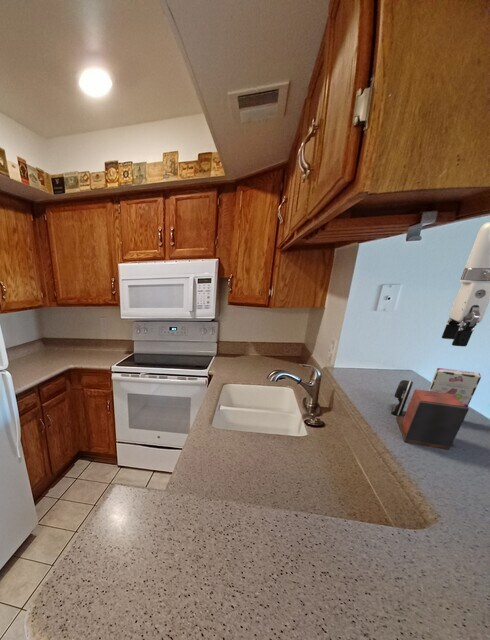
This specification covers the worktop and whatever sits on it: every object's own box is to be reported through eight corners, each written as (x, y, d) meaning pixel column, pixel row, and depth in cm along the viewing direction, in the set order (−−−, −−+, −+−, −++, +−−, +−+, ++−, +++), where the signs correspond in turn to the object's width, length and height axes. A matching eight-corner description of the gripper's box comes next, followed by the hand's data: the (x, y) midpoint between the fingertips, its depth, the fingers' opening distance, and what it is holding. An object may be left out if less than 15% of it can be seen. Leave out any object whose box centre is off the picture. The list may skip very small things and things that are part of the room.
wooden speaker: (434, 424, 108) (450, 387, 102) (449, 450, 94) (469, 408, 88) (396, 418, 112) (409, 382, 106) (404, 442, 98) (420, 402, 92)
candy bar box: (458, 418, 112) (480, 372, 104) (460, 424, 108) (482, 376, 101) (419, 411, 118) (437, 366, 110) (419, 416, 114) (437, 370, 106)
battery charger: (390, 407, 120) (400, 377, 115) (402, 410, 118) (413, 380, 113) (387, 414, 116) (398, 383, 110) (400, 416, 114) (412, 385, 108)
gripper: (513, 278, 78) (481, 350, 86) (485, 275, 92) (459, 337, 100) (474, 277, 80) (446, 347, 88) (452, 274, 94) (429, 335, 102)
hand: (453, 342), depth 94 cm, fingers open, 9 cm apart
